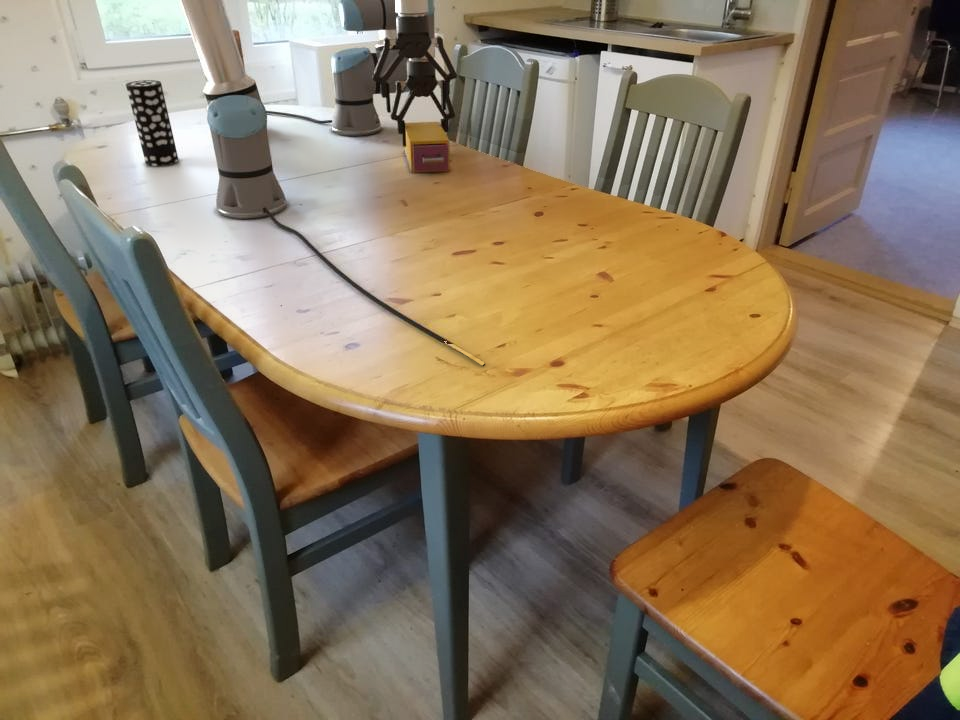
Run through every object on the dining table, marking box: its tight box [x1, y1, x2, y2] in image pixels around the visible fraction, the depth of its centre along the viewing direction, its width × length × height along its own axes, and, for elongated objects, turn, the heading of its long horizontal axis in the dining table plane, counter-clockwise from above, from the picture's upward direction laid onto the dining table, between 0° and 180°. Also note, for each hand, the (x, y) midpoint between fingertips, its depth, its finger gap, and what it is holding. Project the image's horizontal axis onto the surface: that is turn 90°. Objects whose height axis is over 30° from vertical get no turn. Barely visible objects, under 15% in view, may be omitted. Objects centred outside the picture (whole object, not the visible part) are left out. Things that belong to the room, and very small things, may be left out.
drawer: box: [413, 144, 448, 171], centre depth 183 cm, size 23×9×6 cm, turn 11°
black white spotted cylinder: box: [125, 79, 179, 167], centre depth 181 cm, size 8×8×20 cm
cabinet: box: [404, 121, 451, 174], centre depth 188 cm, size 19×10×8 cm, turn 11°
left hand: (416, 110), depth 170 cm, fingers open, 13 cm apart
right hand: (423, 144), depth 193 cm, fingers closed on cabinet, 10 cm apart
